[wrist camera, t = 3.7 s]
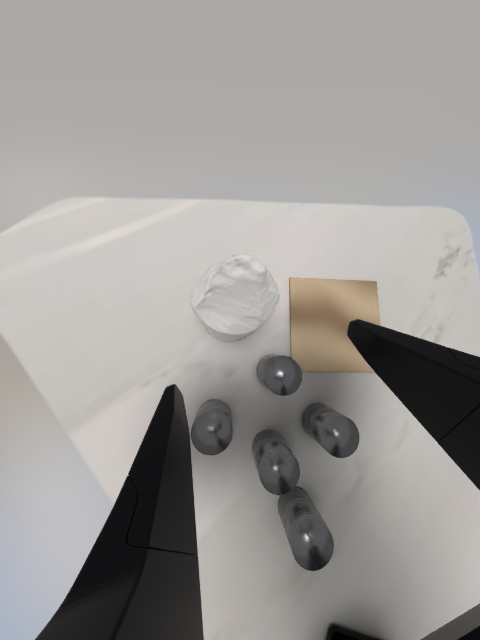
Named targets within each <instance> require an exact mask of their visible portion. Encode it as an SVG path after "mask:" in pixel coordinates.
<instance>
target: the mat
mask: <svg viewBox="0 0 480 640" xmlns="http://www.w3.org/2000/svg"><path fill="white" fill-rule="evenodd" d="M289 293H290V344H291V358H292V359H294V360H295V361H296V362H297V363H298V365H299V366H300V368H301V372H375V371H374V370H373V369H372V368H371V367H370V366H369V365H368V363H367V362H366V361H365V360H364V359H363V357H362V356H361V354H360V353H359V352H358V350H357V349H356V347H355V346H354V345H353V343H352V342H351V341H350V339H349V338H348V336H347V330H348V326H349V322H350V321H353V320H355V319H360V320H363V321H366V322H370V323H373V324H376V325H379V326H380V316H379V304H378V293H377V281H356V280H335V279H314V278H293V277H290V278H289Z"/></svg>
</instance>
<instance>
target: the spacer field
mask: <svg viewBox="0 0 480 640" xmlns="http://www.w3.org/2000/svg"><path fill="white" fill-rule="evenodd" d="M256 372H257V377H258V379H259V380H260V382H261V383H262V384H264V385H265V386H266V387H267V388H268V389H270V390H271V391H272V392H273V393H275V394H277V395H282V396H285V395H290V394H292V393H294V392H295V391H296V390H297V389H298V388H299V386H300V384H301V381H302V372H301V368H300V366H299V365H298V363H297V362H296V361H295V360H294V359H292V358H290V357H287V356H278V355H268V356H265V357H263V358H262V359H261V360H260V361H259V363H258V365H257V369H256ZM303 425H304V428H305V430H306V431H307V432H308V433H309V434H310V435H311V436H312V437H313V438H314V439H315V440H316V441H317V442H318V443H319V444H320V445H321V446H322V447H323V448H324V449H325V450H326V451H327V452H329V453H330V454H331V455H333V456H335V457H338V458H345V457H348V456H350V455H351V454H353V453H354V452H355V450H356V449H357V447H358V444H359V432H358V429H357V427H356V425H355V423H354V422H353V421H352V420H351V419H349V418H347V417H345V416H344V415H342V414H340V413H338V412H336V411H334V410H332V409H331V408H329V407H327V406H325V405H323V404H319V403H316V404H312V405H310V406H309V407H308V408H307V409H306V410H305V412H304V414H303ZM231 438H232V423H231V415H230V410H229V408H228V406H227V405H226V404H225V403H224V402H223V401H221V400H217V399H212V400H208V401H206V402H205V403H204V404H203V405H202V406H201V407H200V409H199V411H198V413H197V416H196V418H195V421H194V423H193V426H192V429H191V440H192V443H193V445H194V446H195V448H196V449H197V450H198V451H199V452H201V453H203V454H205V455H216V454H219V453H221V452H222V451H224V450H225V449H226V448H227V446H228V445H229V443H230V441H231ZM252 452H253V456H254V459H255V463H256V466H257V470H258V473H259V476H260V480H261V483H262V484H263V486H264V488H265V489H266V490H267V491H269V492H270V493H272V494H276V495H281V496H280V498H279V501H278V511H279V514H280V517H281V520H282V523H283V526H284V529H285V532H286V535H287V538H288V540H289V543H290V546H291V549H292V552H293V555H294V558H295V560H296V561H297V563H298V564H299V565H300V566H301V567H303V568H304V569H306V570H310V571H315V570H319V569H321V568H323V567H324V566H325V565H326V564H327V563H328V562H329V560H330V559H331V556H332V554H333V548H334V543H333V538H332V535H331V533H330V531H329V529H328V528H327V526H326V524H325V522H324V521H323V519H322V517H321V516H320V514H319V512H318V511H317V509H316V507H315V506H314V504H313V502H312V501H311V499H310V497H309V495H308V494H307V493H306V492H305V491H304V490H303V489H302V488H299V487H295V486H296V484H297V482H298V480H299V476H300V468H299V464H298V461H297V459H296V458H295V456H294V455H293V454H292V452H291V451H290V449H289V448H288V446H287V445H286V443H285V442H284V440H283V439H282V437H281V436H280V435H279V434H278V433H277V432H275V431H272V430H265V431H262V432H260V433H259V434H258V435H257V436H256V437H255V439H254V441H253V444H252Z"/></svg>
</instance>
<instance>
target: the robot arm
mask: <svg viewBox="0 0 480 640" xmlns="http://www.w3.org/2000/svg"><path fill="white" fill-rule="evenodd" d="M347 336H348V338H349V339H350V341H351V342H352V343H353V345H354V346H355V347H356V349H357V350H358V352H359V353H360V354H361V356H362V357H363V359H364V360H365V361H366V362H367V363H368V365H369V366H370V367H371V368H372V369H373V370H374V371H375V373H376V374H377V375H378V376H379V377H380V378H381V379H382V380H383V382H384V383H385V384H386V385H387V386H388V387H389V388H390V390H391V391H392V392H393V393H394V394H395V395H396V396H397V397H398V399H399V400H400V401H401V402H402V403H403V404H404V405H405V406H406V408H407V409H408V410H409V411H410V412H411V413H412V414H413V415H414V417H415V418H416V419H417V420H418V421H419V422H420V423H421V425H422V426H423V427H424V428H425V429H426V430H427V431H428V432H429V434H430V435H431V436H432V437H433V438H434V439H435V440H436V441H437V442H438V444H439V445H440V446H441V447H442V448H443V450H444V451H445V452H446V453H447V454H448V455H449V456H450V457H451V459H452V460H453V461H454V462H455V463H456V464H457V465H458V466H459V468H460V469H461V470H462V471H463V472H464V473H465V474H466V475H467V477H468V478H469V479H470V480H471V481H472V482H473V483H474V485H475V486H476V487H477V488H478V489H479V490H480V357H478V356H474V355H471V354H468V353H464V352H461V351H458V350H455V349H451V348H448V347H447V348H446V347H445V346H442V345H439V344H436V343H432V342H429V341H426V340H423V339H420V338H417V337H414V336H410V335H407V334H404V333H401V332H398V331H395V330H392V329H388V328H385V327H382V326H379V325H376V324H373V323H370V322H366V321H363V320H360V319H355V320H353V321H350V322H349V326H348V330H347ZM128 475H129V476H127V478H126V480H125V482H124V485H123V487H122V489H121V491H120V494H119V496H118V498H117V500H116V502H115V504H114V507H113V509H112V511H111V513H110V515H109V517H108V519H107V521H106V523H105V525H104V527H103V529H102V530H101V532H100V534H99V536H98V538H97V540H96V542H95V544H94V546H93V548H92V550H91V552H90V554H89V555H88V557H87V559H86V561H85V563H84V565H83V567H82V569H81V571H80V573H79V574H78V576H77V578H76V580H75V582H74V584H73V586H72V587H71V589H70V591H69V593H68V594H67V596H66V598H65V599H64V601H63V603H62V604H61V605H60V607H59V609H58V610H57V611H56V613H55V614H54V616H53V617H52V619H51V620H50V621H49V623H48V624H47V625H46V626H45V628H44V629H43V630H42V632H41V633H40V634H39V635H38V636H37V638H36V639H35V640H204V638H203V623H202V609H201V594H200V580H199V565H198V556H197V555H198V552H197V537H196V522H195V508H194V493H193V479H192V464H191V449H190V435H189V427H188V421H187V416H186V410H185V405H184V400H183V396H182V393H181V392H180V390H179V389H178V387H177V385H175V384H173V385H170V386H167V387H166V388H165V390H164V393H163V395H162V397H161V400H160V402H159V404H158V407H157V409H156V411H155V413H154V416H153V418H152V420H151V423H150V425H149V427H148V430H147V432H146V434H145V436H144V439H143V441H142V443H141V446H140V448H139V450H138V453H137V455H136V457H135V459H134V462H133V464H132V466H131V469H130V471H129V473H128ZM327 640H376V639H373V638H370V637H367V636H364V635H361V634H358V633H355V632H352V631H349V630H346V629H343V628H340V627H337V626H332V627H331V628H330V629H329V632H328V636H327ZM421 640H480V604H478V605H477V606H475V607H473V608H472V609H470V610H469V611H467V612H465V613H464V614H462V615H460V616H459V617H457V618H455V619H454V620H452V621H450V622H449V623H447V624H446V625H444V626H442V627H441V628H439V629H437V630H436V631H434V632H432V633H431V634H429V635H428V636H426V637H424V638H423V639H421Z"/></svg>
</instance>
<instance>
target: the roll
mask: <svg viewBox="0 0 480 640" xmlns="http://www.w3.org/2000/svg"><path fill="white" fill-rule="evenodd" d="M278 299H279V292H278V287H277V284H276V282H275V280H274V279H273V277H272V275H271V273H270V272H269V271H268V270H267V268H266V266H265V265H264V264H262V263H260V262H259V261H258V260H257V258H256V257H255V256H253V255H247V254H241V255H233V256H232V257H230V258H228V259H226V260H224V261H222V262H220V263H217V264H215V265H213V266H211V267H210V268H209V269H208V270H207V271H206V272H205V273H204V274H203V276H202V277H201V278H200V280H199V281H198V283H197V284H196V285H195V287H194V288H193V291H192V294H191V296H190V305H191V307H192V309H193V311H194V313H195V314H196V316H197V317H198V318H199V320H200V321H201V323H202V324H203V325H204V327H205V328H206V330H207V331H208V333H209V334H210V335H212V336H213V337H214V338H216V339H219V340H222V341H236V340H240V339H243V338H244V337H246V336H248V335H249V334H250V333H252V332H253V331H255V330H256V329H258V328H259V327H260V326H261V325H262V324H263V323H264V322H265V321H266V320H267V319H268V318H269V317H270V315H271V314H272V313H273V311H274V308H275V306H276V304H277V302H278Z"/></svg>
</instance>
